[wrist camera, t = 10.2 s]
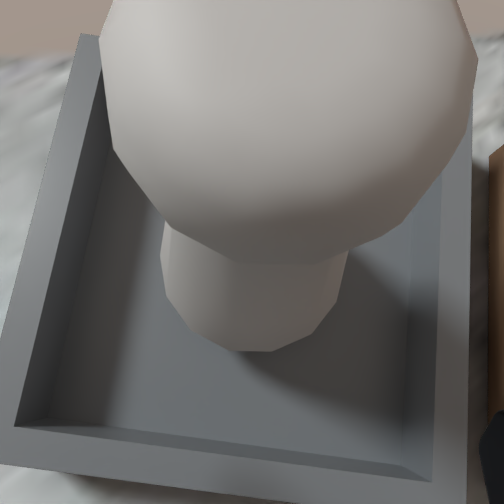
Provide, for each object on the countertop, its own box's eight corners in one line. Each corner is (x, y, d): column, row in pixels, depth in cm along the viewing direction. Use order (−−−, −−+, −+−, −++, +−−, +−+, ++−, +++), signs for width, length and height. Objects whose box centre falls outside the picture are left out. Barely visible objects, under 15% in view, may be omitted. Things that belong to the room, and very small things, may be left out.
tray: (417, 493, 16) (466, 526, 13) (22, 440, 16) (-32, 459, 13) (431, 137, 20) (472, 90, 17) (106, 90, 20) (80, 33, 16)
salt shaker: (288, 177, 18) (419, -259, 6) (355, 313, 17) (717, 152, 4) (146, 235, 17) (-83, -123, 5) (206, 381, 16) (116, 429, 4)
